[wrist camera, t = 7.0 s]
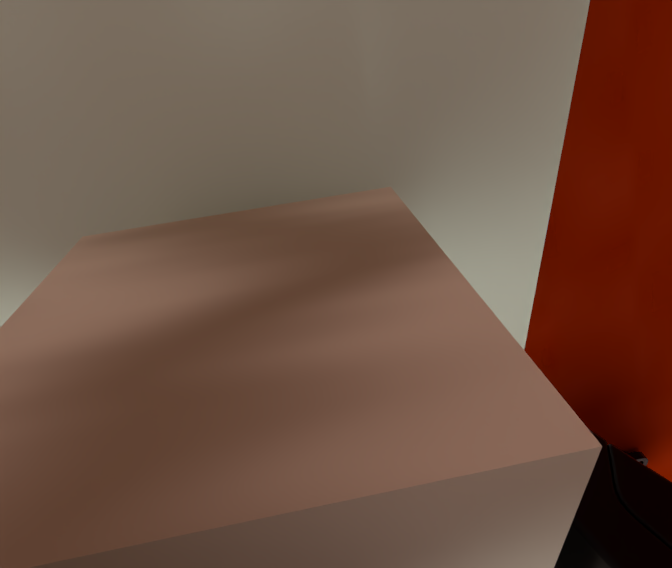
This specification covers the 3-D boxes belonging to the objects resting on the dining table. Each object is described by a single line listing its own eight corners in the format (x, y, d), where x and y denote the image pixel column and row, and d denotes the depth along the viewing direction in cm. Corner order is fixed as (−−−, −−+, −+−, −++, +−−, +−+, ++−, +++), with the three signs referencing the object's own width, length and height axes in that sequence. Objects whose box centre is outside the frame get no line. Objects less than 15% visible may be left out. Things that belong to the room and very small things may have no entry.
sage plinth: (517, -88, 9) (615, -135, 6) (472, 366, 17) (510, 425, 14) (-149, -8, 8) (-335, -26, 6) (126, 433, 16) (100, 510, 13)
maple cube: (390, 186, 7) (603, 446, 3) (399, 393, 10) (506, 685, 6) (82, 236, 7) (-275, 633, 2) (183, 436, 10) (110, 783, 5)
